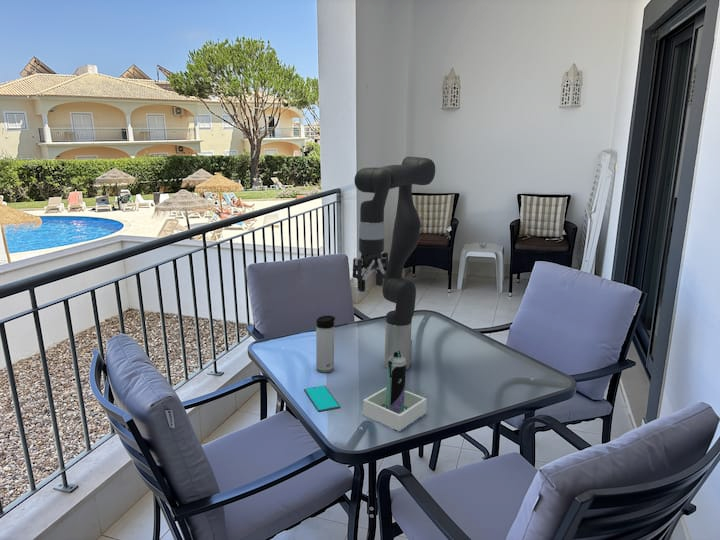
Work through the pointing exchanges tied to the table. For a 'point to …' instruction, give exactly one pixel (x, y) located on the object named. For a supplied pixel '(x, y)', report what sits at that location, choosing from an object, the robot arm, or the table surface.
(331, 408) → the smartphone
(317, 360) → the travel mug
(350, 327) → the table surface
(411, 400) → the white square tray
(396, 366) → the spray can
